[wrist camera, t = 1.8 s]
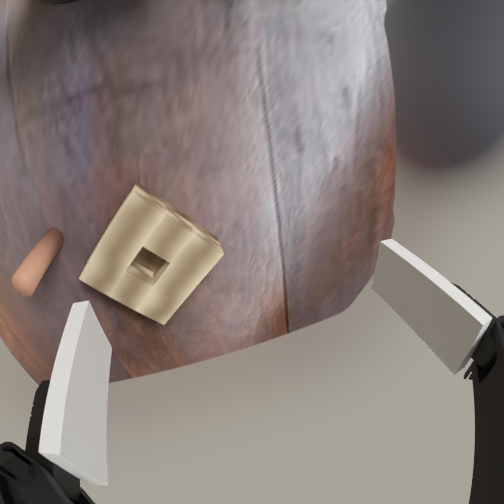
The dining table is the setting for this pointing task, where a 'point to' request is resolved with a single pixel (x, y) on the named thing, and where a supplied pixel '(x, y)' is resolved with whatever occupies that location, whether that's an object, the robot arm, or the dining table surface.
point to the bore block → (150, 256)
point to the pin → (37, 263)
